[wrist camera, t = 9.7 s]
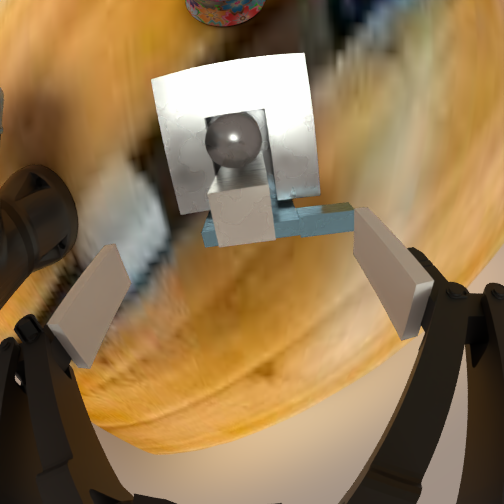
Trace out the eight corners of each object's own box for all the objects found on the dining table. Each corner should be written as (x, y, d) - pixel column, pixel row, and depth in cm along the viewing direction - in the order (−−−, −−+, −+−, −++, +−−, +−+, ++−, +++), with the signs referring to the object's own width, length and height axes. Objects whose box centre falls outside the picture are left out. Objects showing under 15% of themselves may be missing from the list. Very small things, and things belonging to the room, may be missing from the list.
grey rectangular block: (231, 194, 30) (219, 247, 20) (224, 159, 28) (207, 193, 18) (267, 189, 30) (275, 239, 20) (262, 153, 28) (268, 184, 18)
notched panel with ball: (195, 218, 33) (172, 267, 24) (166, 82, 25) (124, 74, 16) (330, 200, 32) (362, 243, 22) (316, 60, 24) (349, 39, 14)
